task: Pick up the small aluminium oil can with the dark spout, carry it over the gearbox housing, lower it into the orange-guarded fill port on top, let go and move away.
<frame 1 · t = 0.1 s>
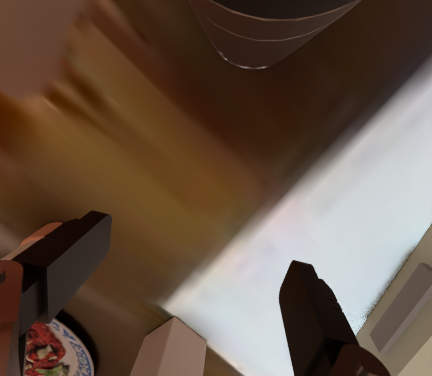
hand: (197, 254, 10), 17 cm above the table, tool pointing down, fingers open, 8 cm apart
ceramic plate: (30, 342, 43), on the table
pepper shaker: (65, 244, 33), on the table
milk carton: (176, 336, 38), on the table
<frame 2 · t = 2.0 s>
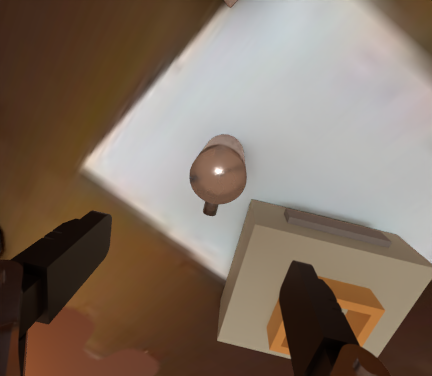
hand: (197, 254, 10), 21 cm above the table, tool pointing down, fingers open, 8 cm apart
gearbox housing: (300, 270, 35), on the table
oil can: (223, 154, 30), on the table
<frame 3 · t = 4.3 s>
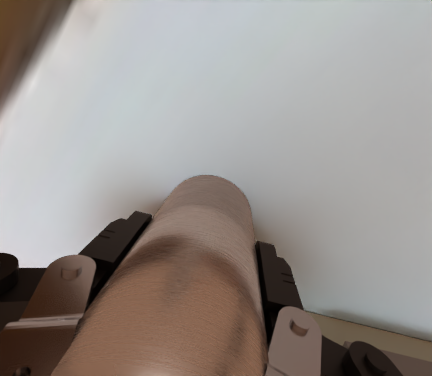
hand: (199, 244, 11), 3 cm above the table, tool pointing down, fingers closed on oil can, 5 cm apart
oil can: (207, 216, 14), on the table, touching gripper
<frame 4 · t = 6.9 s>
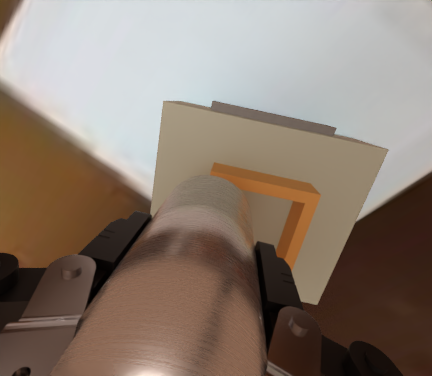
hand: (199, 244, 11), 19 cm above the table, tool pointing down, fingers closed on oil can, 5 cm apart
gearbox housing: (247, 191, 30), on the table
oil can: (207, 216, 14), point 16 cm above the table, touching gripper
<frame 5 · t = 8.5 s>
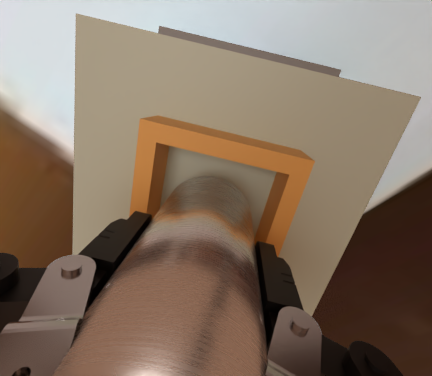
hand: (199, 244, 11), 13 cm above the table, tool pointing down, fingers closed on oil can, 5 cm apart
gearbox housing: (220, 170, 23), on the table
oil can: (207, 217, 14), point 10 cm above the table, touching gripper
when the fingers open (11 cm above the table, at t = 9.7 s): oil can drops 1 cm, resting on gearbox housing.
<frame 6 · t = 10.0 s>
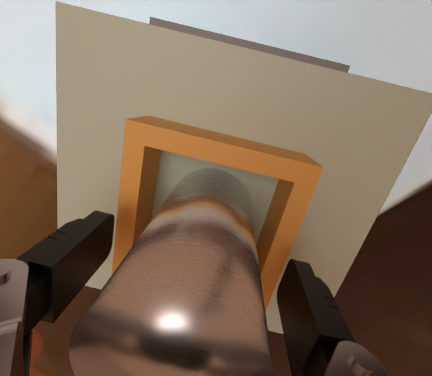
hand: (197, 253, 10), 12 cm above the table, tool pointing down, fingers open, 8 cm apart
gearbox housing: (218, 174, 22), on the table
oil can: (210, 206, 15), point 7 cm above the table, touching gearbox housing
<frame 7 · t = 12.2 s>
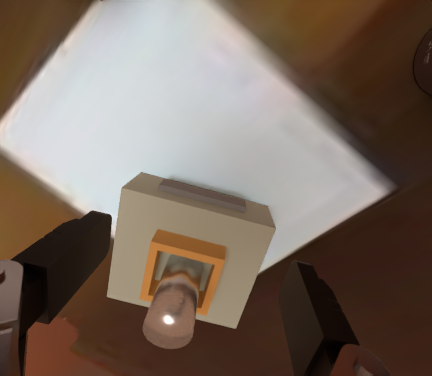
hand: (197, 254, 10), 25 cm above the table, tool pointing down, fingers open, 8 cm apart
gearbox housing: (192, 238, 40), on the table
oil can: (184, 265, 33), point 7 cm above the table, touching gearbox housing
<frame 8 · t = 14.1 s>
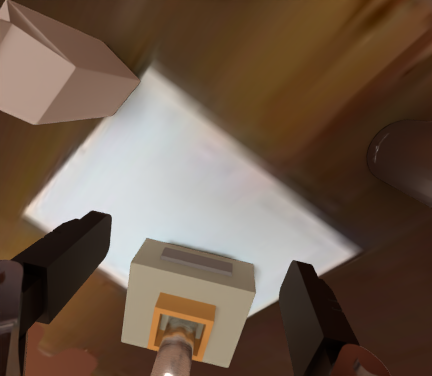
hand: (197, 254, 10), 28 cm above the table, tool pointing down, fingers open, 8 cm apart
gearbox housing: (190, 288, 47), on the table
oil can: (183, 319, 40), point 7 cm above the table, touching gearbox housing
milk carton: (108, 80, 35), on the table
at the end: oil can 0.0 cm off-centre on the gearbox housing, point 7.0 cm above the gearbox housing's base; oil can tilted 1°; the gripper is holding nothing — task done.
